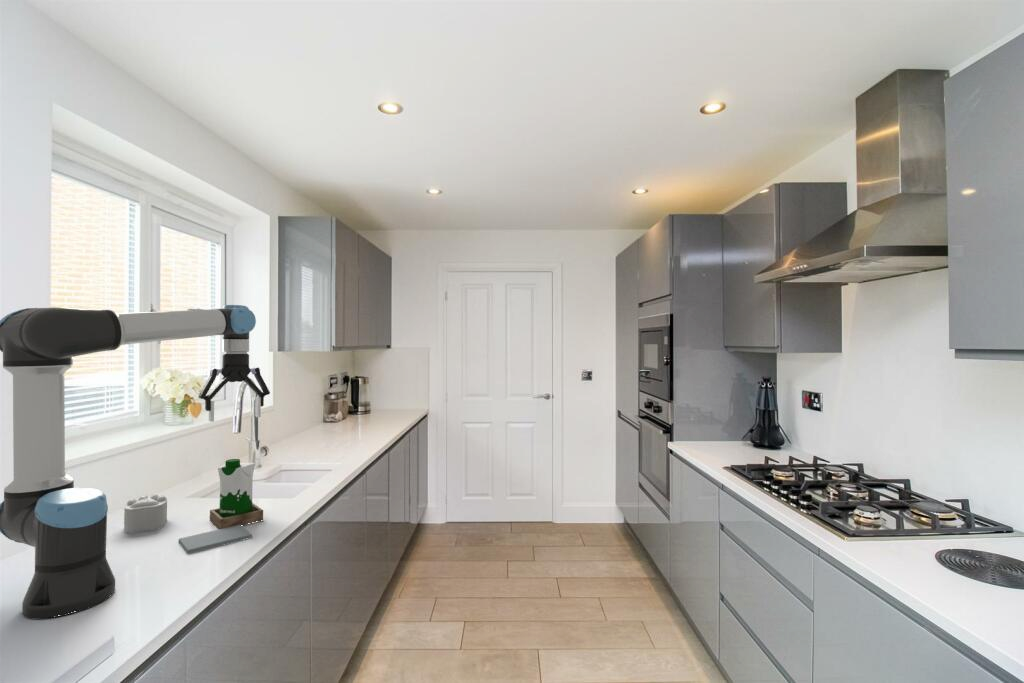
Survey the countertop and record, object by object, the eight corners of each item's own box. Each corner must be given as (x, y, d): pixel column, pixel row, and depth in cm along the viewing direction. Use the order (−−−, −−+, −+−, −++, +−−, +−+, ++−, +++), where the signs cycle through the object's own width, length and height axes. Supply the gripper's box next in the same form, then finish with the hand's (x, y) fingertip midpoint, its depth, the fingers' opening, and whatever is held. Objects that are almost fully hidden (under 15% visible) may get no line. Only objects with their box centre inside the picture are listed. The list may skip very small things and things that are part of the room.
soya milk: (213, 525, 152) (214, 461, 152) (233, 515, 161) (233, 455, 161) (240, 526, 151) (240, 462, 151) (257, 516, 160) (258, 456, 160)
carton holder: (220, 530, 148) (220, 519, 148) (209, 520, 156) (209, 509, 156) (263, 521, 156) (263, 510, 156) (250, 512, 165) (250, 501, 165)
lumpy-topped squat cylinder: (120, 534, 144) (121, 505, 145) (130, 521, 156) (130, 493, 156) (163, 528, 149) (164, 500, 150) (169, 515, 161) (170, 489, 161)
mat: (187, 553, 131) (187, 550, 131) (178, 542, 139) (178, 538, 139) (252, 537, 143) (252, 534, 143) (240, 527, 150) (240, 524, 150)
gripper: (272, 352, 168) (271, 413, 168) (187, 353, 150) (186, 421, 150) (280, 352, 163) (279, 416, 163) (194, 353, 145) (193, 424, 145)
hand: (235, 418), depth 157 cm, fingers open, 13 cm apart
